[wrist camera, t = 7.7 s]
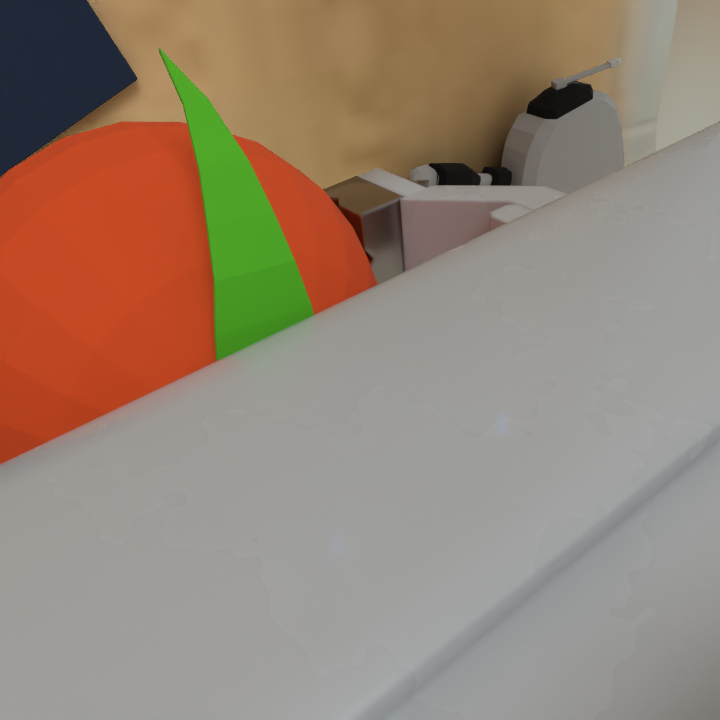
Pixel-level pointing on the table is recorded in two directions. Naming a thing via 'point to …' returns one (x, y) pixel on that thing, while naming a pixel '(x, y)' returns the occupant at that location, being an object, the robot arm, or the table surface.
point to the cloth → (52, 72)
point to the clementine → (153, 263)
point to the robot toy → (549, 142)
